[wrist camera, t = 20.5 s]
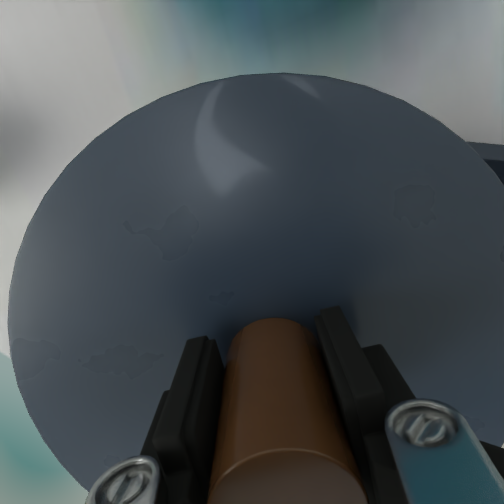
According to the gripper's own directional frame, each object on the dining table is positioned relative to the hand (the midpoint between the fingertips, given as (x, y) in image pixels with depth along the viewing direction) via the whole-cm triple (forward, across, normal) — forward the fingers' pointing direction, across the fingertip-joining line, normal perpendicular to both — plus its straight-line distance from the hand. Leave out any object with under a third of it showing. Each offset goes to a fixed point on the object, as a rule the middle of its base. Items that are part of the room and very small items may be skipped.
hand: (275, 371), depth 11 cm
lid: (+1, 0, 0) cm, 1 cm away
